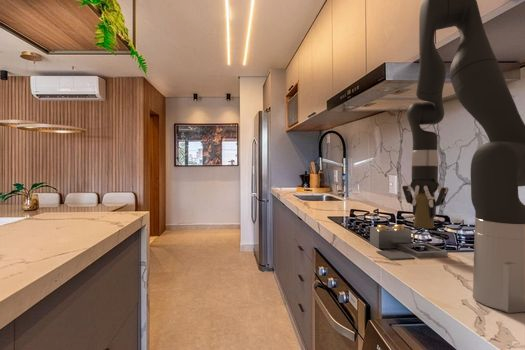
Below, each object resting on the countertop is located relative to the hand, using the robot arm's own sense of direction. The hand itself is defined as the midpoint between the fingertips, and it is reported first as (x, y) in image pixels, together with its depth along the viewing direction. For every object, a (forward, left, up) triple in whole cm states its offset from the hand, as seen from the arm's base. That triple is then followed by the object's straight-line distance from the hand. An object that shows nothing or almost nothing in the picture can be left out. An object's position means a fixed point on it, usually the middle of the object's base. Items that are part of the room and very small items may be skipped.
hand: (424, 217), depth 98 cm
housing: (+4, +4, -11) cm, 13 cm away
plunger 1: (+9, +9, -9) cm, 16 cm away
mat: (-2, +11, -11) cm, 16 cm away
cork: (0, 0, -3) cm, 3 cm away
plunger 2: (+9, +3, -9) cm, 14 cm away
